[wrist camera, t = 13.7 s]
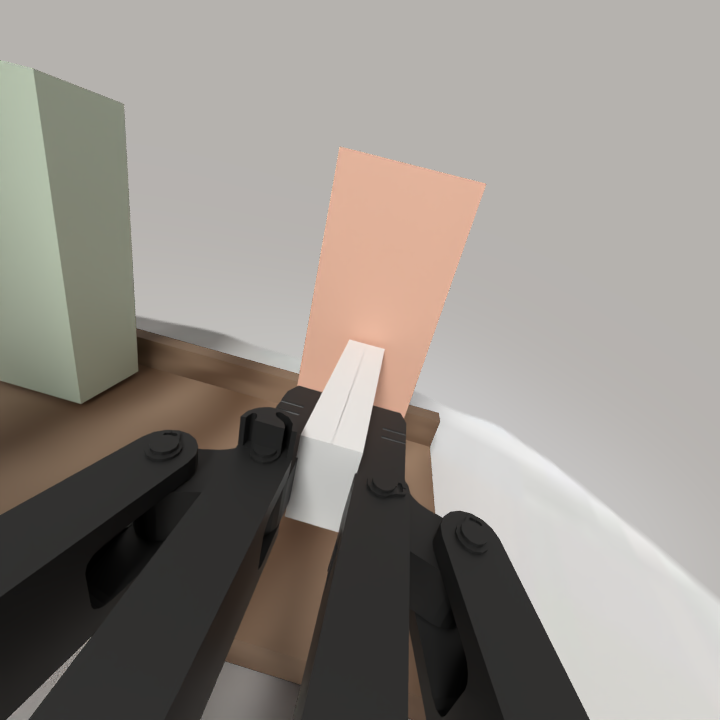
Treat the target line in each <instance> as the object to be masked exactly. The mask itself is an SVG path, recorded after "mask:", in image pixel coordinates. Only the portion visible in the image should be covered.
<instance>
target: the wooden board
mask: <svg viewBox="0 0 720 720" xmlns="http://www.w3.org/2000/svg"><path fill="white" fill-rule="evenodd" d="M136 336H137V354H138V372H136V373H135V374H133V375H131V376H129V377H128V378H126V379H124V380H122V381H121V382H119V383H117V384H115V385H114V386H112V387H110V388H108V389H107V390H105V391H103V392H101V393H100V394H98V395H96V396H94V397H92V398H91V399H89V400H87V401H85V402H84V403H82V404H79V403H76V402H72V401H69V400H65V399H62V398H59V397H55V396H52V395H48V394H45V393H41V392H38V391H34V390H31V389H28V388H24V387H21V386H17V385H14V384H10V383H7V382H3V381H0V515H1V514H3V513H5V512H7V511H8V510H10V509H12V508H14V507H16V506H17V505H19V504H21V503H23V502H25V501H26V500H28V499H30V498H32V497H34V496H36V495H37V494H39V493H41V492H43V491H45V490H46V489H48V488H50V487H52V486H54V485H55V484H57V483H59V482H61V481H63V480H64V479H66V478H68V477H70V476H72V475H73V474H75V473H77V472H79V471H81V470H83V469H84V468H86V467H88V466H90V465H92V464H93V463H95V462H97V461H99V460H101V459H102V458H104V457H106V456H108V455H110V454H111V453H113V452H115V451H117V450H119V449H120V448H122V447H124V446H126V445H128V444H130V443H131V442H133V441H135V440H137V439H139V438H140V437H142V436H145V435H147V434H150V433H152V432H156V431H162V430H180V431H183V432H186V433H189V434H190V435H192V436H193V437H194V438H195V439H196V441H197V444H198V449H215V450H223V449H232V448H236V446H237V445H238V437H239V427H240V417H241V415H243V414H244V413H245V412H247V411H248V410H252V409H255V408H259V407H273V408H276V406H277V405H278V404H279V402H281V399H282V398H283V397H284V395H285V394H286V392H287V391H289V390H291V389H293V388H295V387H297V384H298V379H299V374H297V373H294V372H290V371H287V370H283V369H280V368H276V367H272V366H269V365H265V364H262V363H258V362H255V361H251V360H247V359H244V358H240V357H237V356H233V355H230V354H226V353H222V352H219V351H215V350H212V349H208V348H205V347H201V346H197V345H194V344H190V343H187V342H183V341H180V340H176V339H172V338H169V337H165V336H162V335H158V334H155V333H151V332H147V331H144V330H140V329H137V328H136ZM404 420H405V422H406V444H405V445H406V456H405V481H406V483H407V484H408V486H409V490H410V494H411V495H412V497H413V498H414V499H415V500H416V501H417V502H418V503H419V504H421V505H422V506H424V507H425V508H426V509H428V510H430V511H431V512H433V513H435V507H434V494H433V481H432V468H431V455H430V445H431V443H432V440H433V438H434V435H435V433H436V430H437V428H438V426H439V423H440V418H439V413H437V412H433V411H430V410H426V409H422V408H419V407H415V406H412V405H409V406H408V409H407V411H406V414H405V417H404ZM285 512H286V509H285ZM285 512H284V514H283V516H282V519H281V521H280V525H279V530H278V536H277V538H276V540H275V543H274V545H273V547H272V550H271V552H270V555H269V557H268V559H267V562H266V564H265V567H264V569H263V571H262V574H261V576H260V578H259V581H258V583H257V586H256V588H255V590H254V593H253V595H252V598H251V600H250V602H249V605H248V607H247V609H246V612H245V614H244V617H243V619H242V621H241V624H240V626H239V628H238V631H237V633H236V636H235V638H234V640H233V643H232V645H231V648H230V650H229V652H228V655H227V657H226V659H225V661H226V662H230V663H233V664H236V665H239V666H242V667H245V668H249V669H252V670H255V671H258V672H261V673H265V674H268V675H271V676H274V677H277V678H281V679H284V680H287V681H290V682H293V683H296V684H300V685H301V682H302V678H303V674H304V670H305V666H306V661H307V657H308V653H309V649H310V645H311V641H312V636H313V632H314V628H315V624H316V620H317V616H318V611H319V607H320V603H321V599H322V595H323V591H324V586H325V582H326V578H327V574H328V571H327V569H328V566H329V563H330V559H331V556H332V553H333V550H334V546H335V543H336V540H337V536H338V532H335V531H332V530H329V529H325V528H322V527H319V526H315V525H312V524H309V523H305V522H302V521H298V520H295V519H292V518H288V517H285ZM408 719H411V720H426V716H425V711H424V705H423V700H422V695H421V689H420V684H419V679H418V673H417V668H416V663H415V657H414V652H413V647H412V642H411V636H410V631H409V682H408Z"/></svg>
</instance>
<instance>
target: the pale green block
mask: <svg viewBox="0 0 720 720" xmlns="http://www.w3.org/2000/svg"><path fill="white" fill-rule="evenodd" d="M126 152H127V151H126V133H125V114H124V104H122V103H120V102H118V101H115V100H113V99H110V98H107V97H105V96H102V95H100V94H97V93H95V92H92V91H89V90H87V89H84V88H82V87H79V86H76V85H74V84H71V83H69V82H66V81H63V80H61V79H59V78H56V77H53V76H51V75H48V74H46V73H43V72H41V71H38V70H35V69H33V68H29V67H25V66H21V65H17V64H13V63H9V62H5V61H1V60H0V381H3V382H7V383H10V384H14V385H17V386H21V387H24V388H28V389H31V390H34V391H38V392H41V393H45V394H48V395H52V396H55V397H59V398H62V399H65V400H69V401H72V402H76V403H79V404H82V403H84V402H85V401H87V400H89V399H91V398H92V397H94V396H96V395H98V394H100V393H101V392H103V391H105V390H107V389H108V388H110V387H112V386H114V385H115V384H117V383H119V382H121V381H122V380H124V379H126V378H128V377H129V376H131V375H133V374H135V373H136V372H138V354H137V336H136V317H135V299H134V282H133V281H134V280H133V262H132V245H131V244H132V243H131V225H130V206H129V189H128V169H127V153H126Z"/></svg>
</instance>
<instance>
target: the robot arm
mask: <svg viewBox="0 0 720 720" xmlns="http://www.w3.org/2000/svg"><path fill="white" fill-rule="evenodd" d="M384 350H385V349H383V348H379V347H375V346H372V345H368V344H364V343H361V342H357V341H354V340H349V341H348V343H347V345H346V347H345V349H344V351H343V353H342V355H341V357H340V359H339V361H338V363H337V365H336V367H335V369H334V371H333V373H332V375H331V377H330V379H329V381H328V383H327V384H326V386H325V388H324V390H323V392H320V391H316V390H313V389H309V388H306V387H302V386H297V387H295V388H293V389H291V390H289V391H287V392H286V394H285V395H284V397H283V398H282V399H281V402H279V404H278V405H277V406H276V408H273V407H259V408H255V409H252V410H248V411H247V412H245V413H244V414H243V415H241V417H240V427H239V437H238V445H237V446H236V448H232V449H223V450H215V449H198V444H197V441H196V439H195V438H194V437H193V436H192V435H190V434H189V433H186V432H183V431H180V430H162V431H156V432H152V433H150V434H147V435H145V436H142V437H140V438H139V439H137V440H135V441H133V442H131V443H130V444H128V445H126V446H124V447H122V448H120V449H119V450H117V451H115V452H113V453H111V454H110V455H108V456H106V457H104V458H102V459H101V460H99V461H97V462H95V463H93V464H92V465H90V466H88V467H86V468H84V469H83V470H81V471H79V472H77V473H75V474H73V475H72V476H70V477H68V478H66V479H64V480H63V481H61V482H59V483H57V484H55V485H54V486H52V487H50V488H48V489H46V490H45V491H43V492H41V493H39V494H37V495H36V496H34V497H32V498H30V499H28V500H26V501H25V502H23V503H21V504H19V505H17V506H16V507H14V508H12V509H10V510H8V511H7V512H5V513H3V514H1V515H0V720H6V719H7V718H8V717H9V716H10V715H11V714H12V713H13V712H14V711H15V710H16V709H18V708H19V707H20V706H21V705H22V704H23V703H24V702H25V701H26V700H27V699H28V698H29V697H30V696H31V695H32V694H33V693H34V692H35V691H36V690H37V689H38V688H39V687H40V686H41V685H42V684H43V683H44V682H45V681H46V680H47V679H48V678H49V677H50V676H51V675H52V674H53V673H54V672H55V671H57V670H58V669H59V668H60V667H61V666H62V665H63V664H64V663H65V662H66V661H67V660H68V659H69V658H70V657H71V656H72V655H73V654H74V653H75V652H76V651H77V650H78V649H79V648H80V647H81V646H82V645H83V644H84V643H85V642H86V641H87V640H88V639H89V638H90V637H91V636H92V635H93V636H92V637H91V638H90V640H89V641H88V642H87V644H86V645H85V646H84V648H83V649H82V650H81V652H80V653H79V654H78V655H77V657H76V658H75V659H74V661H73V662H72V663H71V665H70V666H69V667H68V669H67V670H66V671H65V673H64V674H63V675H62V676H61V678H60V679H59V680H58V682H57V683H56V684H55V686H54V687H53V688H52V690H51V691H50V692H49V694H48V695H47V696H46V698H45V699H44V700H43V701H42V703H41V704H40V705H39V707H38V708H37V709H36V711H35V712H34V713H33V715H32V716H31V717H30V719H29V720H200V719H201V717H202V714H203V712H204V709H205V707H206V705H207V702H208V700H209V698H210V695H211V693H212V690H213V688H214V686H215V683H216V681H217V678H218V676H219V674H220V671H221V669H222V667H223V664H224V662H225V659H226V657H227V655H228V652H229V650H230V648H231V645H232V643H233V640H234V638H235V636H236V633H237V631H238V628H239V626H240V624H241V621H242V619H243V617H244V614H245V612H246V609H247V607H248V605H249V602H250V600H251V598H252V595H253V593H254V590H255V588H256V586H257V583H258V581H259V578H260V576H261V574H262V571H263V569H264V567H265V564H266V562H267V559H268V557H269V555H270V552H271V550H272V547H273V545H274V543H275V540H276V538H277V536H278V530H279V525H280V521H281V519H282V516H283V514H284V512H285V509H286V512H285V517H288V518H292V519H295V520H298V521H302V522H305V523H309V524H312V525H315V526H319V527H322V528H325V529H329V530H332V531H335V532H338V536H337V540H336V543H335V546H334V550H333V553H332V556H331V559H330V563H329V566H328V569H327V571H328V574H327V578H326V582H325V586H324V591H323V595H322V599H321V603H320V607H319V611H318V616H317V620H316V624H315V628H314V632H313V636H312V641H311V645H310V649H309V653H308V657H307V661H306V666H305V670H304V674H303V678H302V682H301V686H300V690H299V695H298V699H297V703H296V707H295V711H294V715H293V720H408V682H409V631H410V636H411V642H412V647H413V652H414V657H415V663H416V668H417V673H418V679H419V684H420V689H421V695H422V700H423V705H424V711H425V716H426V720H590V719H589V717H588V715H587V713H586V711H585V709H584V707H583V705H582V703H581V701H580V699H579V697H578V695H577V693H576V691H575V689H574V687H573V685H572V683H571V681H570V679H569V677H568V675H567V673H566V671H565V669H564V667H563V665H562V663H561V661H560V659H559V657H558V655H557V653H556V651H555V649H554V647H553V645H552V643H551V641H550V639H549V637H548V635H547V633H546V631H545V629H544V627H543V625H542V623H541V621H540V619H539V617H538V615H537V613H536V611H535V609H534V607H533V605H532V603H531V601H530V599H529V597H528V595H527V593H526V591H525V589H524V587H523V585H522V583H521V581H520V579H519V577H518V575H517V573H516V571H515V569H514V567H513V565H512V563H511V561H510V559H509V557H508V555H507V553H506V551H505V549H504V547H503V545H502V543H501V541H500V539H499V538H498V536H497V535H496V534H495V532H494V531H493V529H492V528H491V527H490V526H489V525H487V524H486V523H485V522H484V521H483V520H482V519H480V518H478V517H476V516H474V515H473V514H470V513H467V512H463V511H453V512H450V513H448V514H447V515H445V516H444V517H443V518H442V517H440V516H438V515H437V514H435V513H433V512H431V511H430V510H428V509H426V508H425V507H424V506H422V505H421V504H419V503H418V502H417V501H416V500H415V499H414V498H413V497H412V495H411V494H410V490H409V486H408V484H407V483H406V481H405V456H406V445H405V444H406V422H405V420H404V418H403V417H402V415H401V413H398V412H395V411H391V410H388V409H384V408H381V407H377V406H374V405H373V403H374V398H375V393H376V388H377V383H378V379H379V374H380V369H381V364H382V360H383V355H384Z"/></svg>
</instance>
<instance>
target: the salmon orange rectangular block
mask: <svg viewBox="0 0 720 720" xmlns="http://www.w3.org/2000/svg"><path fill="white" fill-rule="evenodd" d="M485 186H486V184H485V183H481V182H477V181H474V180H470V179H466V178H462V177H457V176H454V175H450V174H446V173H442V172H438V171H434V170H430V169H426V168H422V167H418V166H414V165H411V164H406V163H403V162H399V161H395V160H391V159H387V158H383V157H379V156H375V155H371V154H367V153H363V152H359V151H356V150H352V149H347V148H343V147H340V148H339V153H338V159H337V165H336V171H335V176H334V182H333V187H332V193H331V198H330V205H329V210H328V216H327V221H326V227H325V232H324V238H323V244H322V249H321V256H320V260H319V267H318V272H317V277H316V284H315V289H314V295H313V300H312V305H311V312H310V317H309V323H308V328H307V334H306V339H305V345H304V351H303V356H302V362H301V367H300V373H299V379H298V384H297V386H302V387H306V388H309V389H313V390H316V391H320V392H323V390H324V388H325V386H326V384H327V383H328V381H329V379H330V377H331V375H332V373H333V371H334V369H335V367H336V365H337V363H338V361H339V359H340V357H341V355H342V353H343V351H344V349H345V347H346V345H347V343H348V341H349V340H354V341H357V342H361V343H364V344H368V345H372V346H375V347H379V348H383V349H385V350H384V355H383V360H382V364H381V369H380V374H379V379H378V383H377V388H376V393H375V398H374V403H373V405H374V406H377V407H381V408H384V409H388V410H391V411H395V412H398V413H401V415H402V417H403V418H404V417H405V414H406V411H407V409H408V406H409V403H410V400H411V397H412V394H413V392H414V389H415V386H416V383H417V380H418V377H419V374H420V372H421V368H422V366H423V363H424V360H425V357H426V354H427V352H428V349H429V346H430V343H431V340H432V337H433V334H434V332H435V329H436V326H437V323H438V320H439V317H440V315H441V312H442V309H443V306H444V303H445V300H446V297H447V295H448V292H449V289H450V286H451V283H452V280H453V277H454V275H455V272H456V269H457V266H458V263H459V260H460V257H461V255H462V252H463V249H464V246H465V243H466V240H467V237H468V234H469V232H470V229H471V226H472V223H473V220H474V218H475V215H476V212H477V209H478V206H479V203H480V201H481V198H482V194H483V192H484V189H485Z"/></svg>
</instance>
